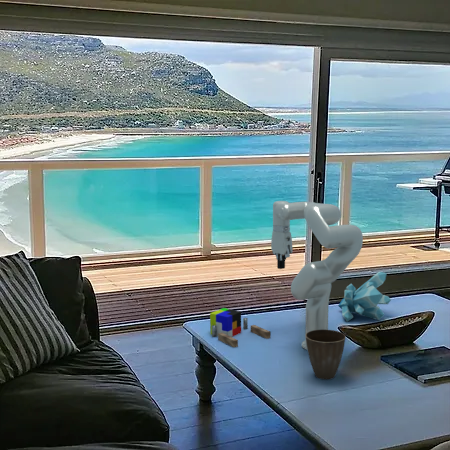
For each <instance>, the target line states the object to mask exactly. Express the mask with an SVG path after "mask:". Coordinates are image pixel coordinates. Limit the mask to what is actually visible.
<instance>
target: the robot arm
mask: <svg viewBox="0 0 450 450" xmlns="http://www.w3.org/2000/svg"><path fill="white" fill-rule="evenodd" d="M341 218H342V212H341V210H340V208H339V207H338V206H337V205H335V204H330V203H319V202H317V203H316V202H313V201H296V202H289V201H288V200H287V201H286V200H277V201H274V202H273V204H272V233H271V239H270V240H271V244H270V246H271V251H272V254H273V255H275V257H276V258H275V259H276V261H277V262H276V263H277V269H279V270H283V269H285V268H286V260H287V258H290V257H291V255H292V254H293V237H292V233H291V231H290V230H291V226H290V225H291V223H290V222H291V221H293V220H303V219H304V220H306V221H305V222H306V224H307V225H308V227H309V229H310V230H311V232H312V233H313V234H314V236H315V238H316V239H317V241H318V242H319V244H320V245H321V246H322V247H324V248H326V249H333V250H332V251H331V252H330V253H329V255H328V256H327V257H326V258H325V259H323V260H317V261H313V262H312V261H311V262H309V263H307V264H305V265H304V266H303V267H302V268H301V269H300V271H299V272H298V273H297V274H296V276H295V277H294V278H293V280H292V282H291V285H290V293H291V295H292V296H293V298H295V299H296V300H299V301H303V300H307V301H306V305H305V332H304V334H305V335H306V333H308V332H310V331H313V330H322V329H323V330H329V304H330V301H329V300H330V297H331V290H332V283H334V282H336V280H338V278H340V276H341V275H342V273H344V271H345V270H346V269H347V267H348V266H349V265H350V264H351V263H352V262H353V261H354V260H355V259H356V258H357V257H358V255H359V254H360V253H361V250H362V247H363V243H364V242H363V241H364V240H363V239H364V238H363V237H364V235H363V232H362V230H361V229H360V227H358V226H357V225H355V224H339V225H335V224H336V223H338V222H339V221H340V219H341ZM304 338H305V340H303V341H302V342H301V347H302V348H303V349H304V350H306V351H308V349H307V343H306V336H305V337H304Z"/></svg>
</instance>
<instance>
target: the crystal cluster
mask: <svg viewBox="0 0 450 450" xmlns="http://www.w3.org/2000/svg"><path fill="white" fill-rule="evenodd" d="M386 279H387V272H384V271H378V272H376V273H375V274H374V275H373V276H372V277H371V278H370V279H368V280H367V281H365V282H364V283H363V284H362V285H361V286H359V288H356V287H355V286H354V285H353V284H352V283H350V284H349V285H347V286H346V287H345V289H344V291H343V292H344V297H343V298H342V299H341V301H340V302H339V304H338V307H339V308H340V309H341V313H342V317H343V318H344V319H345V321H346V322H349V321H350V320H351V319H353V318H354V315H353V314H354V313H355V314H358V315H360V316H363V317H367V318H370V319H374V320H376V319H377V320H376V321H380V320H381V318H383V317H384V316H385V313H384V312H383V310H382V309H381V308H380V307H379V305H389V304H390V303H391V300H392V299H391V298H390V297H389V296H388V295H385V294H383V293H382V292H380V290H378V288H379V287H380V286H382V285H383V284H384V282H386Z"/></svg>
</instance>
